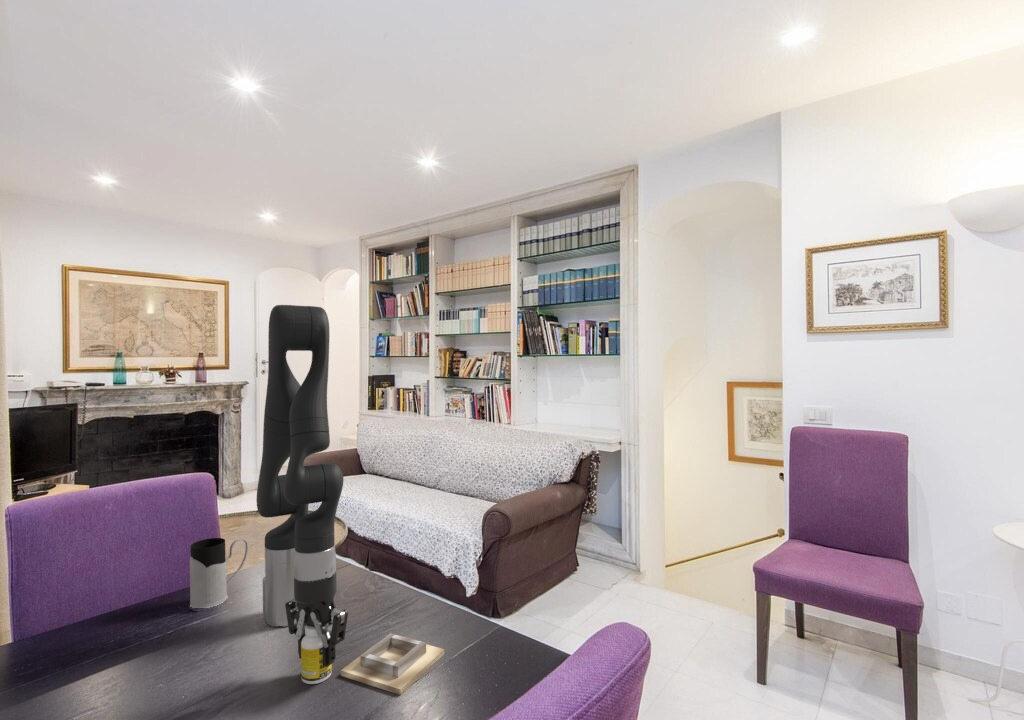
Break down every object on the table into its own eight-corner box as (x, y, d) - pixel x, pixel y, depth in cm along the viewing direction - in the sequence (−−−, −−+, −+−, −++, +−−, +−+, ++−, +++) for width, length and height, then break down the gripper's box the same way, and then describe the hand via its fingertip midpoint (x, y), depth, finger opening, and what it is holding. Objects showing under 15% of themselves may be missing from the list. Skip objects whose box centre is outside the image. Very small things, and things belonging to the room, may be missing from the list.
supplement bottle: (321, 686, 94) (320, 632, 94) (295, 683, 95) (294, 630, 95) (337, 669, 99) (336, 618, 99) (312, 666, 100) (311, 616, 100)
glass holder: (181, 605, 127) (180, 545, 127) (239, 584, 138) (238, 529, 139) (198, 615, 122) (197, 551, 122) (256, 592, 133) (256, 534, 134)
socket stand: (340, 675, 97) (340, 659, 97) (388, 639, 109) (388, 625, 109) (400, 695, 91) (400, 678, 91) (444, 654, 103) (443, 639, 103)
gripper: (271, 572, 97) (273, 662, 96) (328, 585, 90) (330, 681, 90) (303, 558, 103) (304, 642, 103) (358, 569, 97) (360, 659, 97)
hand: (316, 660), depth 97 cm, fingers closed on supplement bottle, 5 cm apart
